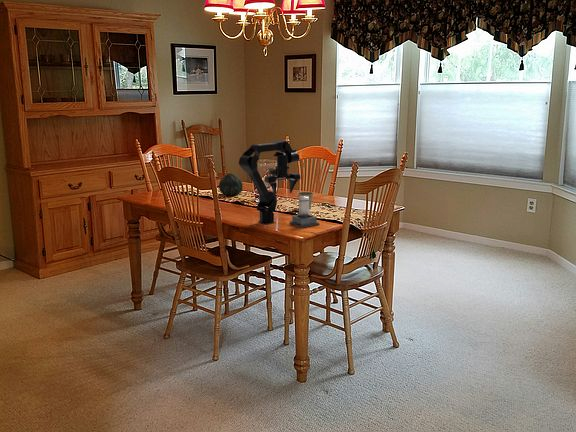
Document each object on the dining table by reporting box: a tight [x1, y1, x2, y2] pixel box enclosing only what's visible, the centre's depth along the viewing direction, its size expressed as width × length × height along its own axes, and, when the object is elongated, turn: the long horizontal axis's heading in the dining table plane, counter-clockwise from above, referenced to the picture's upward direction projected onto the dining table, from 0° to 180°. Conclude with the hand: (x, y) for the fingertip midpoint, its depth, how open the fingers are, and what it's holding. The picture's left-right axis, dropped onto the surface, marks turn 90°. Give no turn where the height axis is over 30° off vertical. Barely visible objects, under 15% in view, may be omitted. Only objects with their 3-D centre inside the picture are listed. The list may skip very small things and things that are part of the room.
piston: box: [298, 196, 310, 219], centre depth 295 cm, size 5×5×13 cm
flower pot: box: [296, 191, 315, 210], centre depth 331 cm, size 9×9×9 cm
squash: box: [218, 172, 244, 196], centre depth 371 cm, size 14×15×15 cm
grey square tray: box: [289, 213, 320, 229], centre depth 296 cm, size 11×11×4 cm
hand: (282, 193), depth 307 cm, fingers open, 9 cm apart
